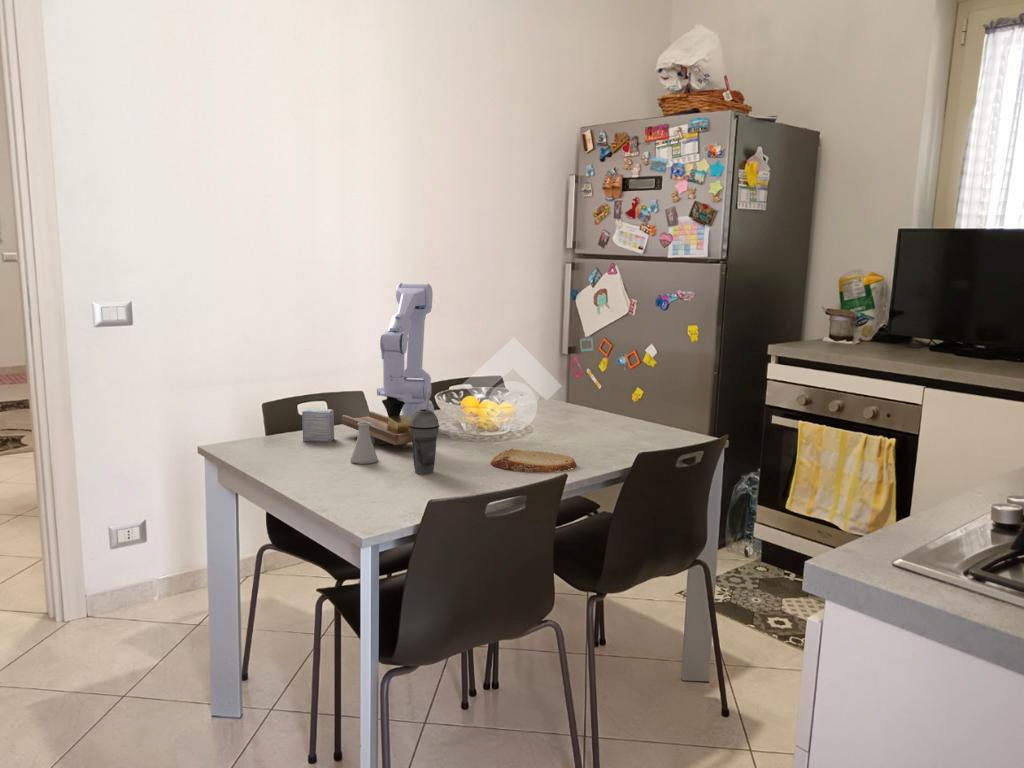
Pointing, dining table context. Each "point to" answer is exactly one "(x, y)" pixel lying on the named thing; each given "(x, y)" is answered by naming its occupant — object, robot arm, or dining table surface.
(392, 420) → the wood grain cube
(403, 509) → the dining table surface
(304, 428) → the grey streaked box
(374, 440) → the fulcrum
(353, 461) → the flask
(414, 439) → the beverage cup
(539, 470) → the slice of bread
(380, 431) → the beam
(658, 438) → the dining table surface
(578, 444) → the dining table surface
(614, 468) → the dining table surface
